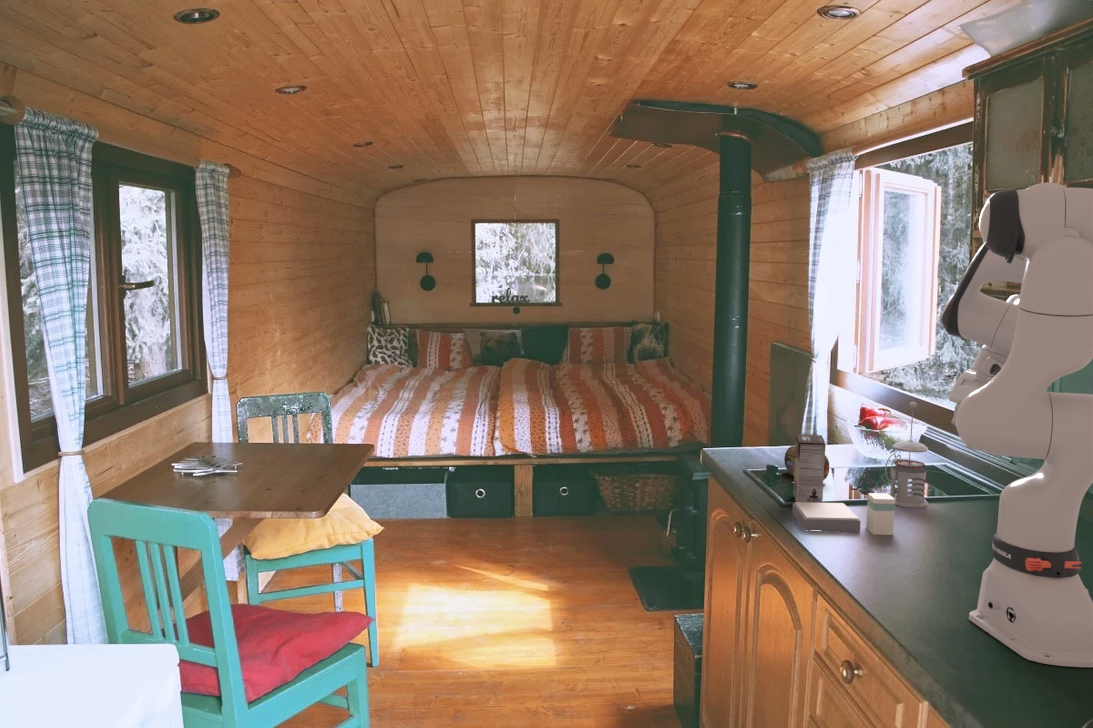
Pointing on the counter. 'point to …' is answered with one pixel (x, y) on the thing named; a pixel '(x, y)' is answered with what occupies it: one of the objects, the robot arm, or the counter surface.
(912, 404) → the french press
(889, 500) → the carton
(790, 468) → the tin
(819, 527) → the podium
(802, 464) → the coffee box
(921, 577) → the counter surface
